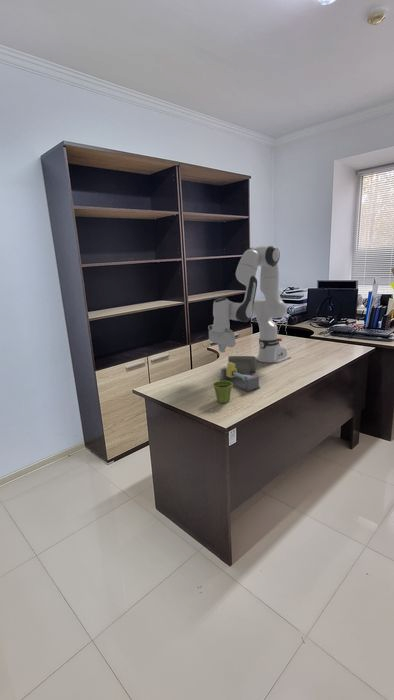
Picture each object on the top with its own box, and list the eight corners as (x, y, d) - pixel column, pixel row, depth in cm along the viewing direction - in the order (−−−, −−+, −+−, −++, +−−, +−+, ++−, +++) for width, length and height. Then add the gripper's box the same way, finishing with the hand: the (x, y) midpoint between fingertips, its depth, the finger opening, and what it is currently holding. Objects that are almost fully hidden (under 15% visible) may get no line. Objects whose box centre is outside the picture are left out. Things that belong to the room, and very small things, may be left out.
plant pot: (222, 406, 161) (221, 389, 158) (209, 400, 168) (208, 384, 166) (237, 401, 166) (236, 384, 164) (224, 395, 173) (223, 379, 171)
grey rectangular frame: (219, 380, 194) (219, 369, 192) (232, 376, 199) (232, 365, 197) (247, 392, 175) (246, 380, 174) (260, 387, 180) (260, 376, 178)
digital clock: (257, 371, 205) (257, 354, 202) (253, 376, 197) (253, 358, 194) (231, 369, 211) (231, 352, 209) (226, 374, 204) (226, 356, 201)
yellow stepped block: (226, 376, 192) (225, 363, 190) (232, 374, 194) (232, 361, 192) (230, 377, 189) (230, 365, 187) (237, 376, 191) (236, 363, 189)
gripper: (238, 329, 184) (238, 354, 187) (215, 324, 201) (216, 347, 204) (228, 331, 181) (229, 356, 184) (206, 325, 197) (207, 349, 201)
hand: (222, 351), depth 194 cm, fingers closed
